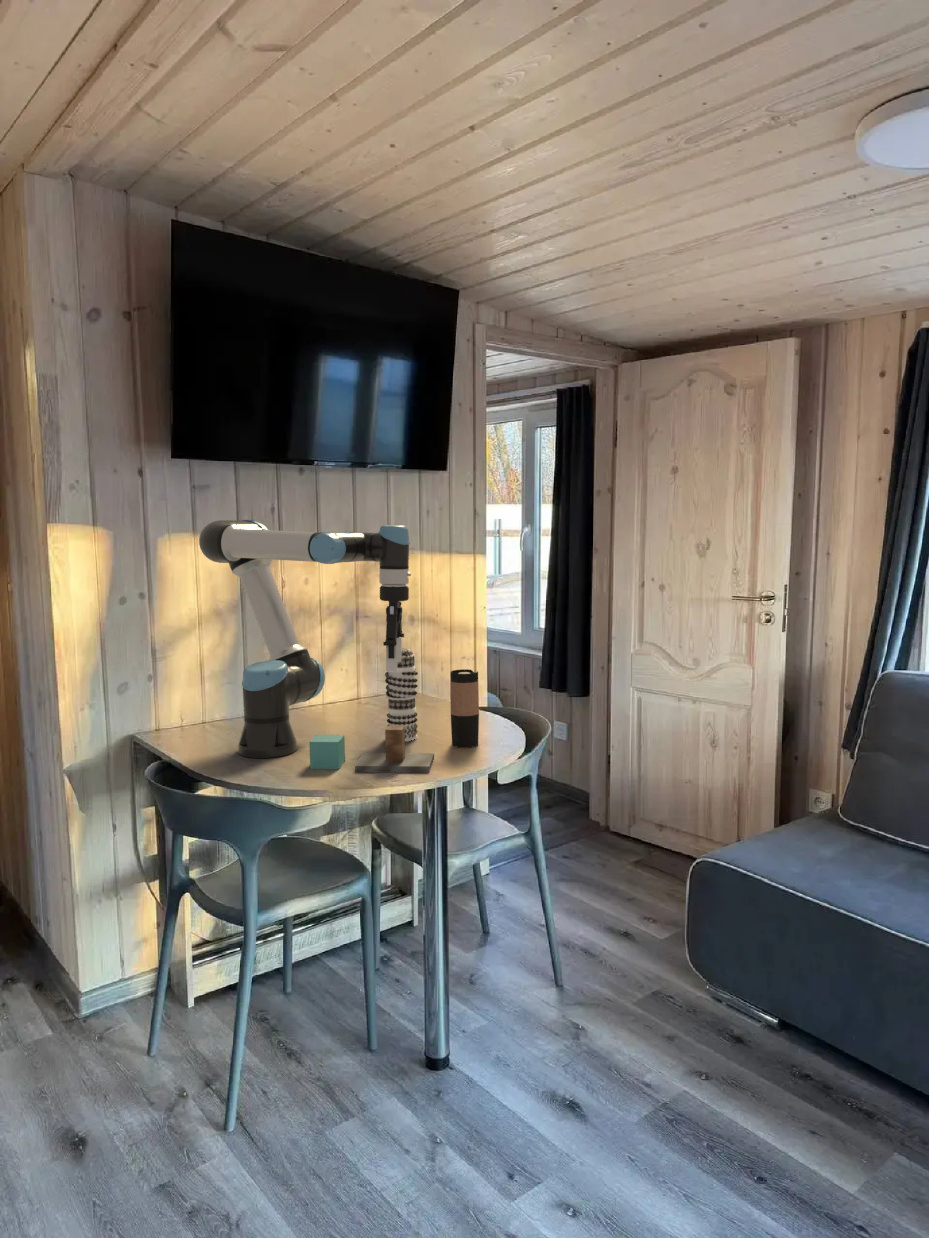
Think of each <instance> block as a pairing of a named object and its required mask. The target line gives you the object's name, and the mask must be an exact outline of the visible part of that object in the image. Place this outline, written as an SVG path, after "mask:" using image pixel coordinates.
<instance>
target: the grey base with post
mask: <svg viewBox="0 0 929 1238" xmlns="http://www.w3.org/2000/svg"><path fill="white" fill-rule="evenodd" d="M384 733H385V734H384V736H385V737H384V738H385V739H384V740H385V752H363V754H362V755H361V756H360V758H359V760H358V761H357V762H356V763H355V766H354V772H355V773H427V774H428V773H430V771H431V769H432V767H433V764H432V763H434V761H433V760H435V753H433V752H432V753H429V752H428V753H423V752H422V753H420V752H419V753H418V752H415V753H414V752H411V753H410V752H409V753H406V746H405V745H406V743H405V742H406V741H405V729H404V726H387V725H386V728H385V731H384Z"/></svg>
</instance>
